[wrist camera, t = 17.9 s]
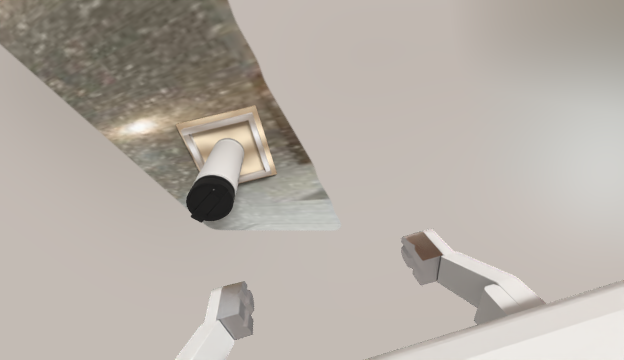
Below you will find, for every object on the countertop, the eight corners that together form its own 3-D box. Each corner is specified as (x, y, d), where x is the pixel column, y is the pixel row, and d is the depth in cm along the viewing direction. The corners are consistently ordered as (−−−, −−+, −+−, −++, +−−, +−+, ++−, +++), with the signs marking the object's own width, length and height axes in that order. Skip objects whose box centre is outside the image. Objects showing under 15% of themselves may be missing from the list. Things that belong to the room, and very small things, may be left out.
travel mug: (206, 154, 48) (174, 210, 31) (225, 131, 47) (201, 177, 29) (232, 170, 51) (214, 230, 34) (250, 150, 49) (242, 202, 32)
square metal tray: (176, 123, 45) (172, 127, 43) (255, 105, 46) (255, 107, 44) (210, 189, 53) (208, 194, 51) (276, 172, 54) (277, 177, 52)
